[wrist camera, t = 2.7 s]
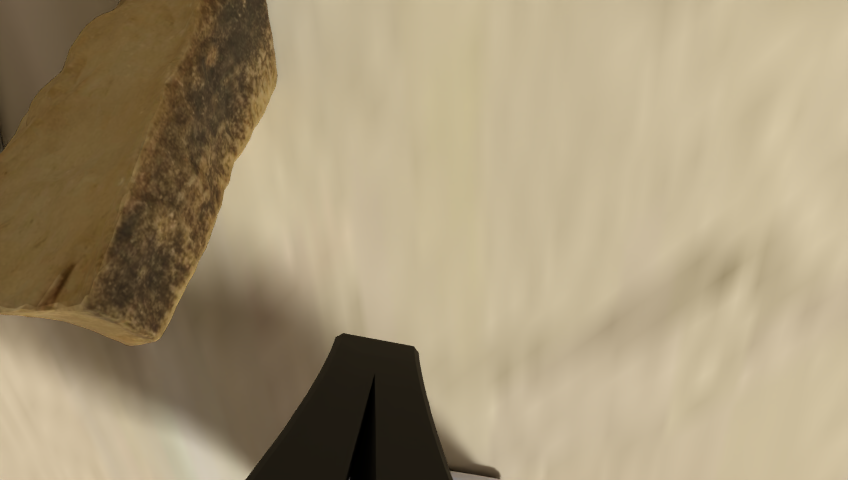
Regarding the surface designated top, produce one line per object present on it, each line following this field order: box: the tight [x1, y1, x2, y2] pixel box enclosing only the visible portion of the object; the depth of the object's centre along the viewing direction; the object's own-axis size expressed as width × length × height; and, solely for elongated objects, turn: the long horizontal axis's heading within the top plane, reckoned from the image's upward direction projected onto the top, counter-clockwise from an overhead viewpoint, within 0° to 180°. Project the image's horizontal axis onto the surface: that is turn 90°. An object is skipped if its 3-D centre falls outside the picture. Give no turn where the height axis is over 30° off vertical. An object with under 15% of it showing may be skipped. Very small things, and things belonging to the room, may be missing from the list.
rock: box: [0, 0, 277, 346], centre depth 15 cm, size 11×9×10 cm
